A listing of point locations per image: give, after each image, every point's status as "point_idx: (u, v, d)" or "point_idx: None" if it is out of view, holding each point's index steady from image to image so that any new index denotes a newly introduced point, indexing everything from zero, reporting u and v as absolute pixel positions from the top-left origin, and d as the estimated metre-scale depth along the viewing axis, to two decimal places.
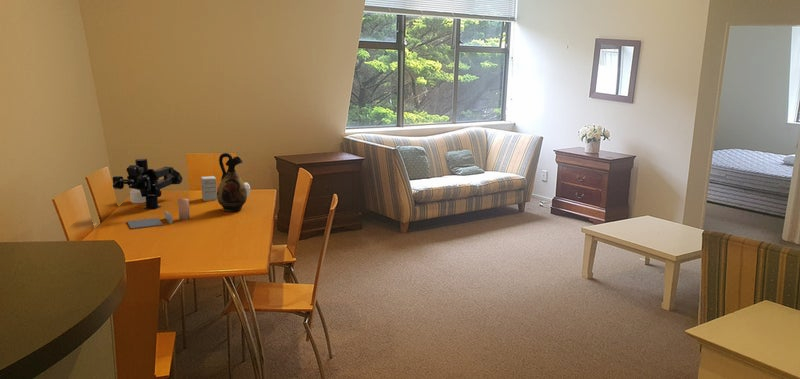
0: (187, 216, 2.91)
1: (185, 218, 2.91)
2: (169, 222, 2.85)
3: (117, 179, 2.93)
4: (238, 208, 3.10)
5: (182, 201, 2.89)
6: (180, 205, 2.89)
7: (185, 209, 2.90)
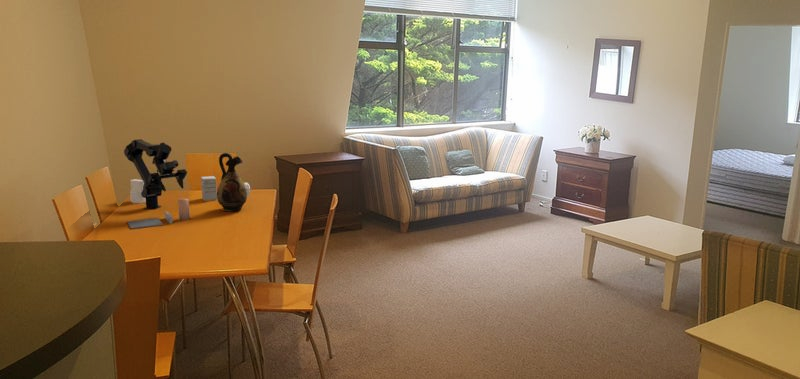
0: (187, 216, 2.91)
1: (185, 218, 2.91)
2: (169, 222, 2.85)
3: (159, 179, 2.92)
4: (238, 208, 3.10)
5: (182, 201, 2.89)
6: (180, 205, 2.89)
7: (185, 209, 2.90)
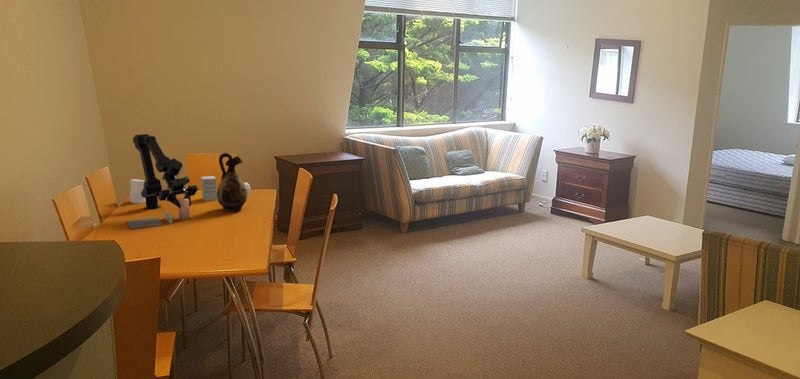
0: (187, 216, 2.91)
1: (185, 218, 2.91)
2: (169, 222, 2.85)
3: (174, 195, 2.89)
4: (238, 208, 3.10)
5: (182, 201, 2.89)
6: (180, 205, 2.89)
7: (185, 208, 2.90)
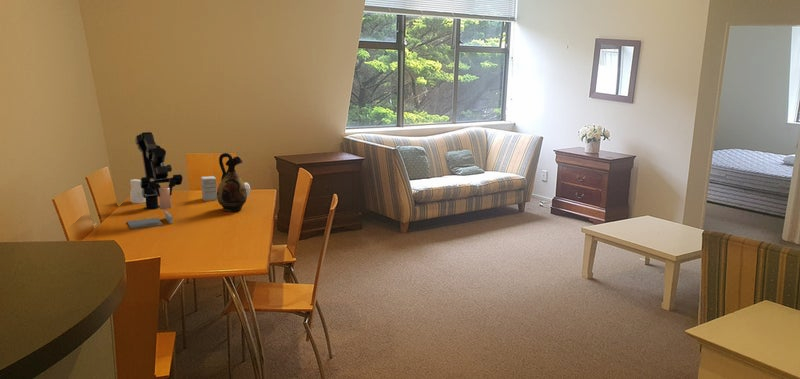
0: (167, 205, 2.84)
1: (164, 207, 2.84)
2: (169, 222, 2.85)
3: (154, 183, 2.83)
4: (238, 208, 3.10)
5: (161, 190, 2.82)
6: (160, 194, 2.83)
7: (164, 197, 2.83)
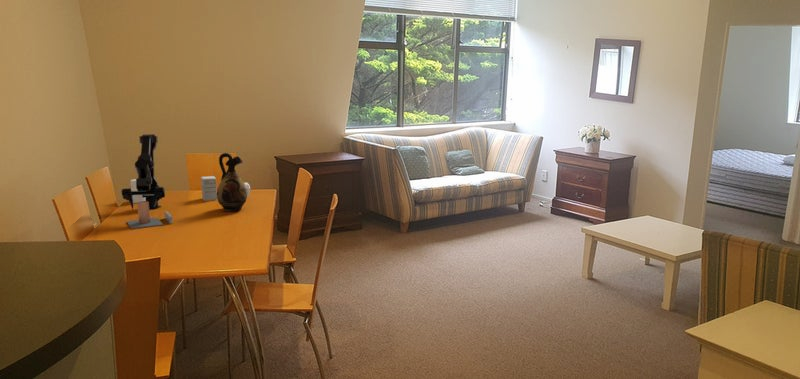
0: (144, 220, 2.81)
1: (141, 222, 2.81)
2: (169, 222, 2.85)
3: (129, 195, 2.80)
4: (238, 208, 3.10)
5: (139, 204, 2.79)
6: (138, 208, 2.80)
7: (141, 212, 2.80)
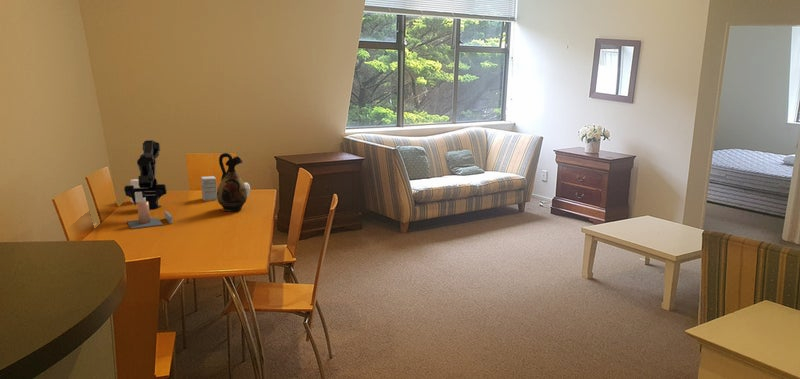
0: (144, 220, 2.81)
1: (141, 222, 2.81)
2: (169, 222, 2.85)
3: (131, 192, 2.88)
4: (238, 208, 3.10)
5: (138, 204, 2.79)
6: (138, 208, 2.81)
7: (141, 212, 2.80)
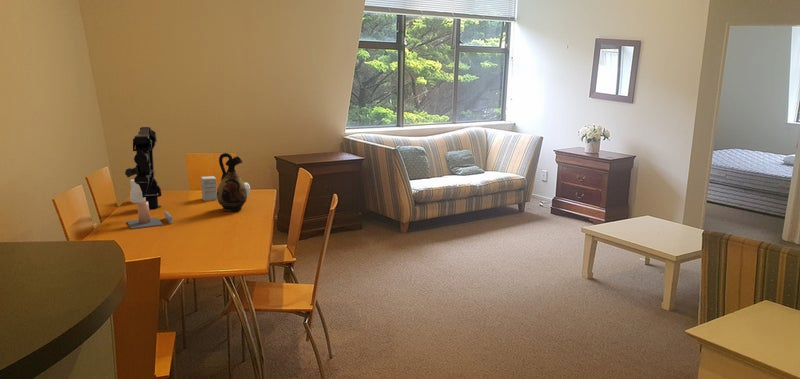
0: (144, 220, 2.81)
1: (141, 222, 2.81)
2: (169, 222, 2.85)
3: None
4: (238, 208, 3.10)
5: (138, 204, 2.79)
6: None
7: (141, 212, 2.80)
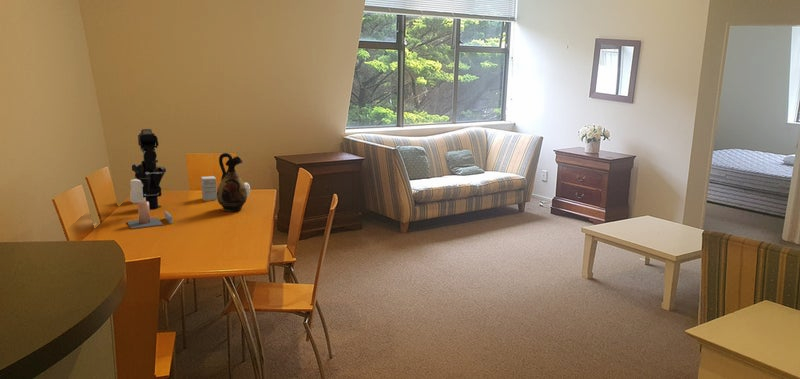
0: (144, 220, 2.81)
1: (142, 222, 2.81)
2: (169, 222, 2.85)
3: None
4: (238, 208, 3.10)
5: (139, 204, 2.80)
6: (138, 207, 2.81)
7: (141, 212, 2.80)
